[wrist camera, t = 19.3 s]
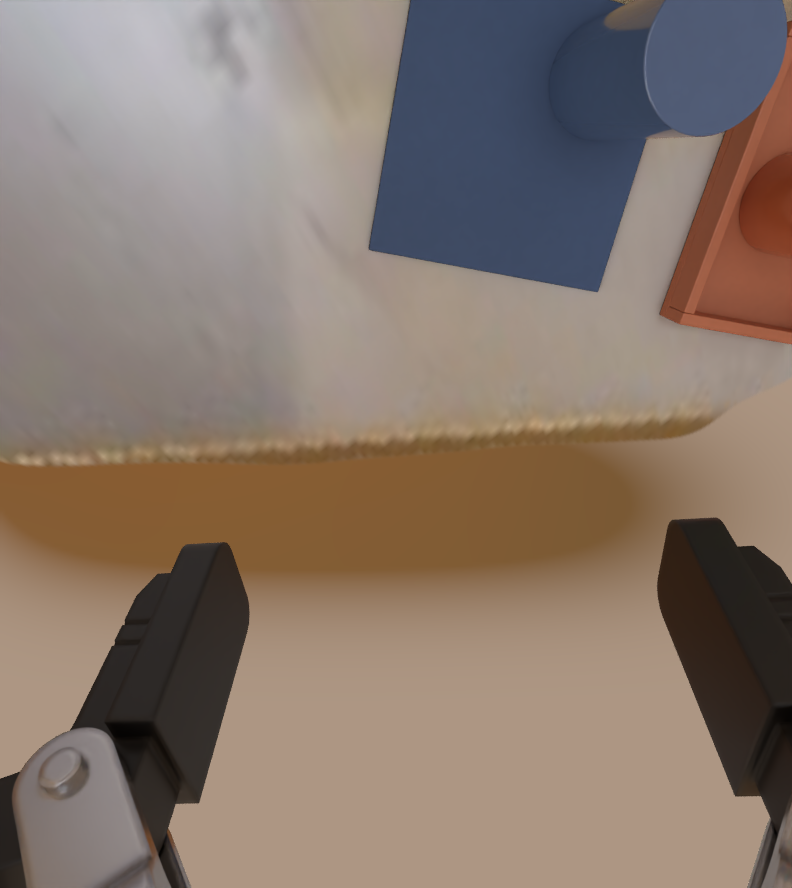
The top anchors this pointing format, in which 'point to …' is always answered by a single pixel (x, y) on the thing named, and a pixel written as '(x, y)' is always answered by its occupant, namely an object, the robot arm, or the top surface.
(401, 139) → the blue mat
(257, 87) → the top surface
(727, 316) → the terracotta tray
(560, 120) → the blue cylinder
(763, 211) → the terracotta cylinder
